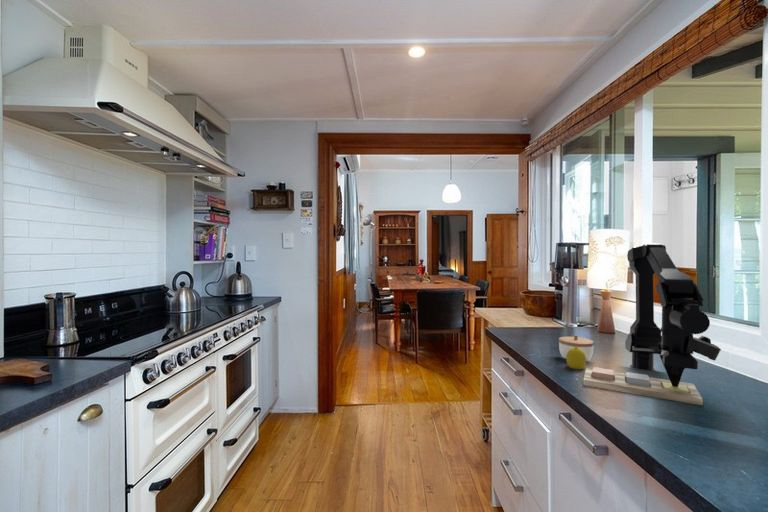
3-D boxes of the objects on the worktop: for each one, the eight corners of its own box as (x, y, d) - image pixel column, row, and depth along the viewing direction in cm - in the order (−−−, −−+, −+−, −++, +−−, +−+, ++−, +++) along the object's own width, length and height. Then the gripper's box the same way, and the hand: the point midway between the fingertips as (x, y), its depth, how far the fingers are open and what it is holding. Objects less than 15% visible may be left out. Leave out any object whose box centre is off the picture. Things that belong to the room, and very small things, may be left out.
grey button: (626, 382, 102) (626, 371, 102) (648, 386, 100) (648, 375, 100) (626, 388, 98) (626, 376, 98) (649, 391, 95) (649, 380, 95)
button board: (585, 377, 110) (586, 367, 110) (693, 395, 97) (693, 383, 97) (583, 390, 100) (583, 379, 100) (702, 411, 87) (702, 398, 87)
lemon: (588, 375, 113) (588, 349, 113) (569, 374, 114) (569, 348, 114) (582, 370, 118) (582, 345, 118) (564, 368, 119) (564, 344, 119)
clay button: (593, 377, 106) (593, 367, 106) (613, 380, 104) (613, 370, 104) (592, 382, 102) (592, 371, 102) (613, 385, 100) (613, 374, 100)
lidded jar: (570, 356, 134) (570, 330, 134) (600, 364, 125) (600, 336, 125) (551, 360, 129) (552, 333, 128) (581, 368, 119) (581, 340, 119)
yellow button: (661, 392, 98) (661, 381, 98) (685, 396, 95) (685, 385, 95) (664, 399, 94) (664, 387, 94) (689, 403, 91) (689, 391, 91)
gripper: (727, 337, 82) (726, 406, 82) (708, 323, 98) (708, 381, 98) (665, 331, 88) (664, 395, 88) (657, 319, 104) (656, 374, 104)
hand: (675, 386), depth 95 cm, fingers closed, pressing on yellow button
